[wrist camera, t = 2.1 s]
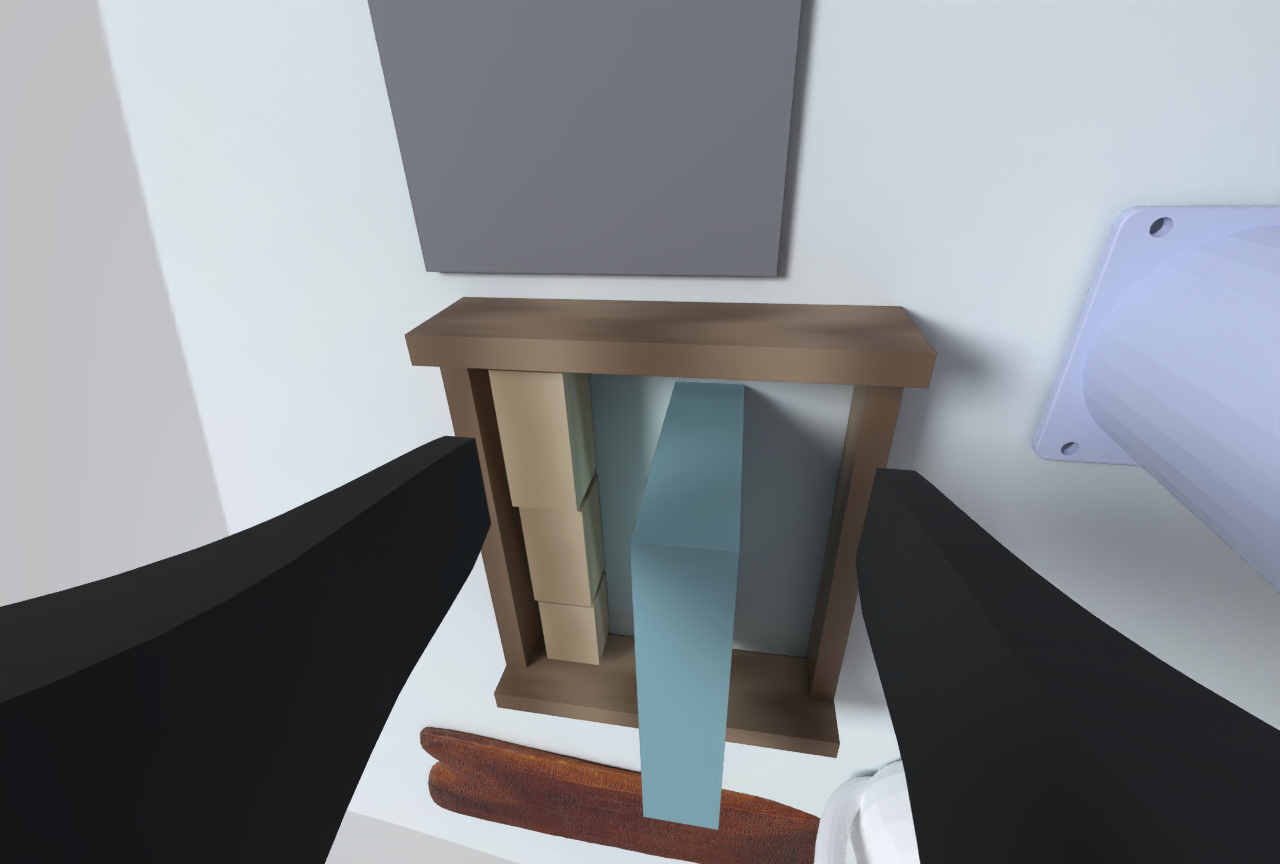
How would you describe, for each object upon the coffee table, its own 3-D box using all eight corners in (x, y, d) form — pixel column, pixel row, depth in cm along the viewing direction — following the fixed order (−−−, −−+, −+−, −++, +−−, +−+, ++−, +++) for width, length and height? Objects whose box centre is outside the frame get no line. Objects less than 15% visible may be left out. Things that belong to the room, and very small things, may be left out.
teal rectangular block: (744, 384, 20) (739, 552, 12) (728, 618, 26) (718, 830, 18) (675, 380, 21) (629, 541, 13) (675, 611, 26) (643, 816, 19)
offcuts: (586, 340, 20) (562, 373, 18) (609, 627, 28) (595, 680, 25) (521, 338, 21) (488, 370, 18) (561, 621, 28) (542, 672, 25)
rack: (901, 306, 18) (936, 352, 14) (825, 675, 27) (836, 758, 23) (463, 297, 20) (404, 334, 17) (527, 637, 29) (497, 707, 26)
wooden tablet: (438, 792, 41) (427, 817, 39) (421, 710, 36) (407, 735, 34) (808, 880, 38) (811, 910, 36) (848, 805, 33) (852, 837, 31)
